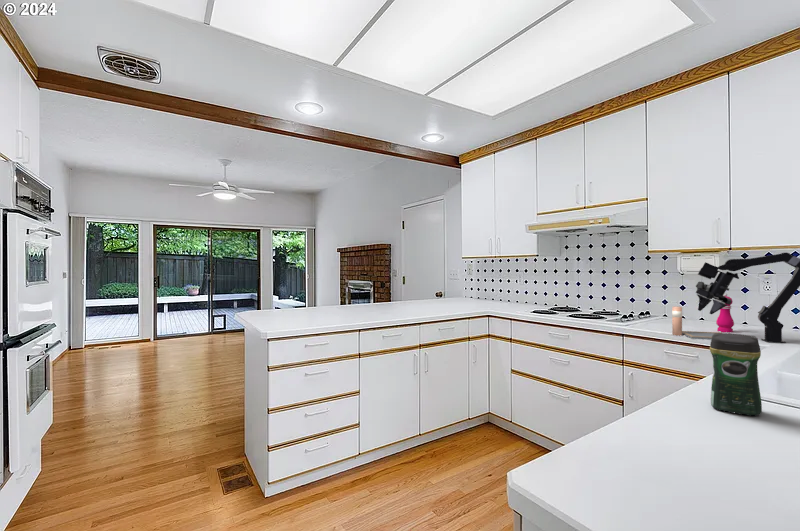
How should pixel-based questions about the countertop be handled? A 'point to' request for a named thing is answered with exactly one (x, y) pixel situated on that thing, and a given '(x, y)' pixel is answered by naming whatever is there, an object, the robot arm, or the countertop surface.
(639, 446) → the countertop surface
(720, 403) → the coffee jar
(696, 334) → the slate board
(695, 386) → the countertop surface
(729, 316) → the pepper mill
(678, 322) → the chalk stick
